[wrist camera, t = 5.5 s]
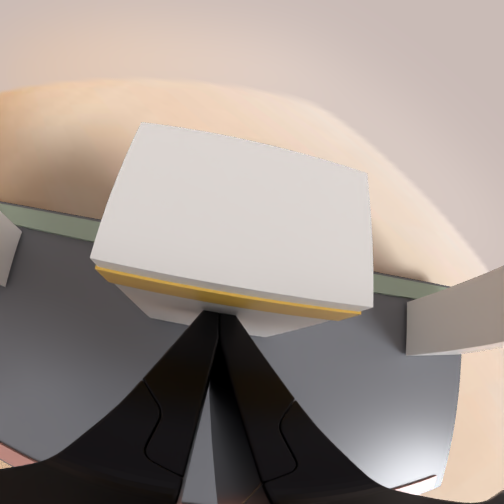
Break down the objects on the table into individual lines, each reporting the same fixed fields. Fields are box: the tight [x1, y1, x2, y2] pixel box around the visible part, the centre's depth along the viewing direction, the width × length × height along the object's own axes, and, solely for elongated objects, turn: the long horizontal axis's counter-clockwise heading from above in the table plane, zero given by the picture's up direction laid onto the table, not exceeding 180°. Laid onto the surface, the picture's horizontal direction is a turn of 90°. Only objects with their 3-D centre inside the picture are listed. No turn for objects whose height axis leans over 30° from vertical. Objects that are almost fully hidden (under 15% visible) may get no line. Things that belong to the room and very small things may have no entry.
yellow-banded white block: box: [90, 122, 373, 337], centre depth 9 cm, size 3×5×8 cm, turn 83°
